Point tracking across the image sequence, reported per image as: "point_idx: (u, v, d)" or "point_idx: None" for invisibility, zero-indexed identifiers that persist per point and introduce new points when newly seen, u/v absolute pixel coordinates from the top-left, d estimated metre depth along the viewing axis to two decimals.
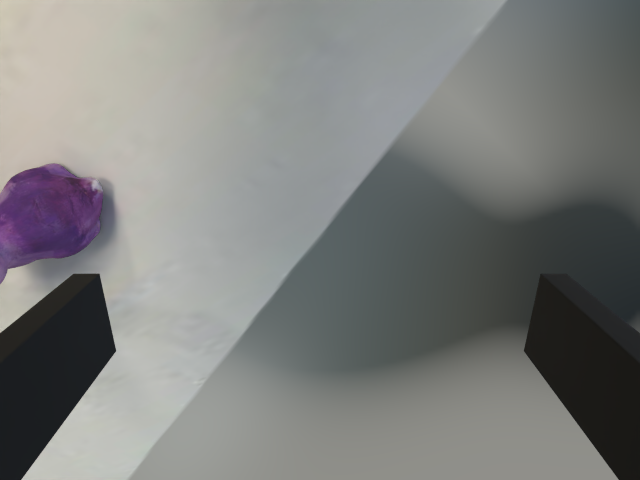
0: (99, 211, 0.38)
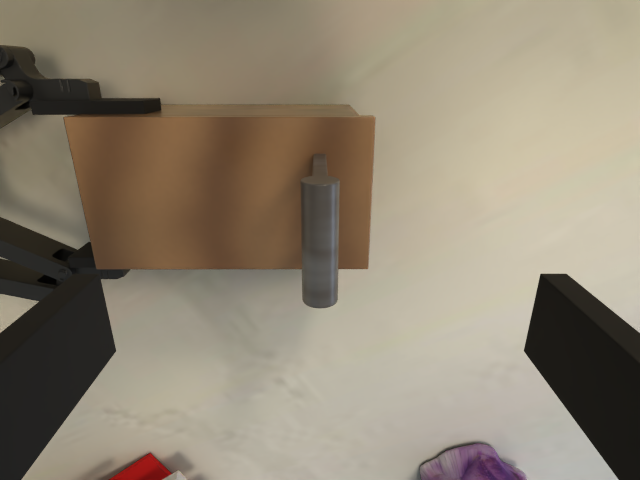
0: None
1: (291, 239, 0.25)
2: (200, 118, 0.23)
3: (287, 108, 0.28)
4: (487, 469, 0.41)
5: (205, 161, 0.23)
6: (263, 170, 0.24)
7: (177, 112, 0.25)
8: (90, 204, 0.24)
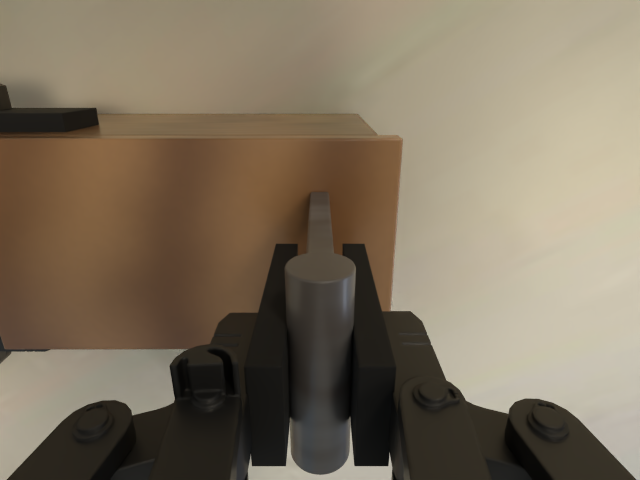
0: None
1: None
2: (140, 140, 0.15)
3: (275, 121, 0.21)
4: None
5: (150, 202, 0.16)
6: (237, 215, 0.16)
7: (116, 128, 0.18)
8: None
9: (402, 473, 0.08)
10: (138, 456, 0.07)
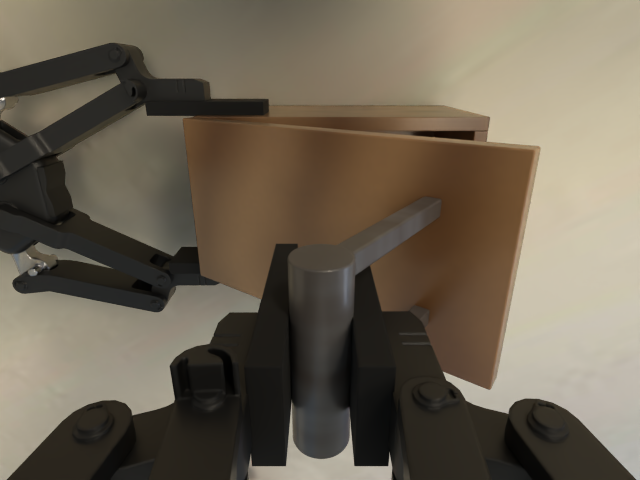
0: None
1: (382, 307, 0.18)
2: (292, 130, 0.18)
3: (393, 109, 0.27)
4: None
5: (294, 183, 0.19)
6: (356, 207, 0.17)
7: (291, 113, 0.24)
8: (198, 210, 0.23)
9: (402, 473, 0.08)
10: (138, 456, 0.07)
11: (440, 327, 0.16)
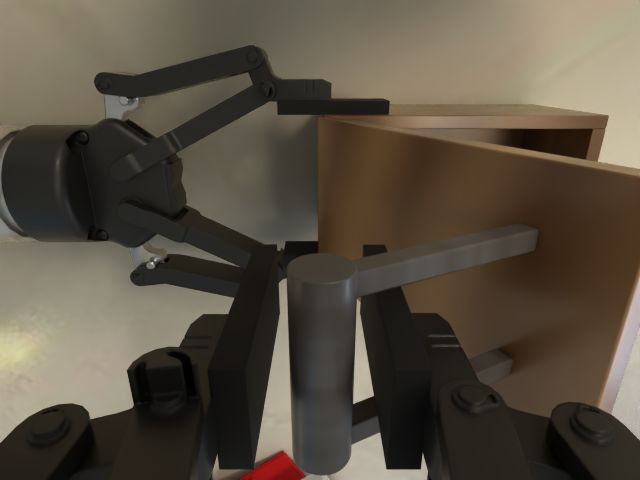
0: None
1: (464, 342, 0.16)
2: (399, 134, 0.17)
3: (496, 108, 0.28)
4: None
5: (396, 189, 0.18)
6: (449, 224, 0.15)
7: (410, 112, 0.25)
8: (321, 204, 0.24)
9: (439, 475, 0.08)
10: (94, 460, 0.07)
11: (523, 383, 0.13)
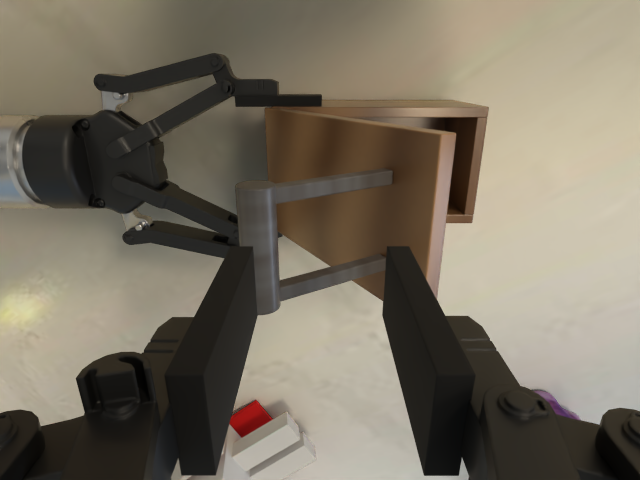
0: None
1: (363, 255, 0.23)
2: (317, 117, 0.24)
3: (414, 102, 0.36)
4: None
5: (318, 156, 0.25)
6: None
7: (341, 105, 0.33)
8: (270, 176, 0.32)
9: None
10: (42, 468, 0.07)
11: None
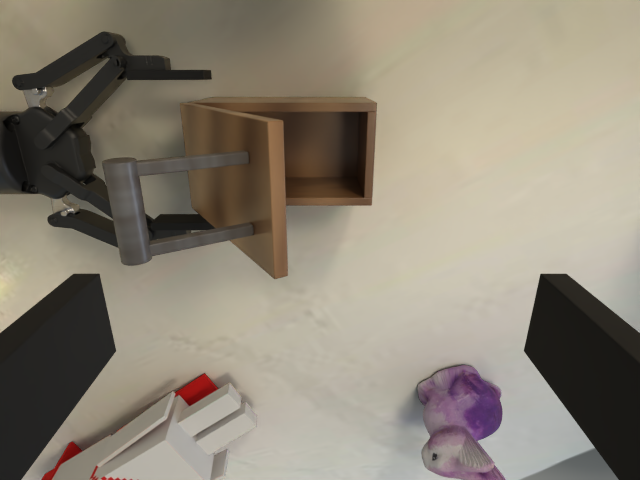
0: None
1: None
2: (207, 110, 0.29)
3: (324, 99, 0.40)
4: (469, 380, 0.53)
5: (211, 143, 0.30)
6: None
7: (252, 101, 0.37)
8: None
9: None
10: None
11: (257, 237, 0.26)
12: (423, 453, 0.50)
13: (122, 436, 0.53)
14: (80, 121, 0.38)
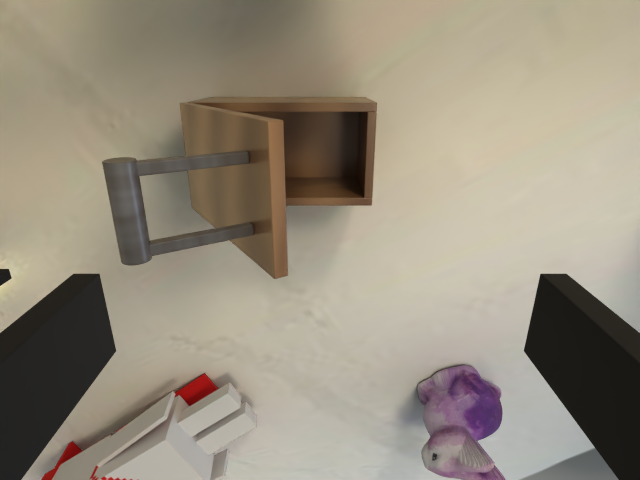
0: None
1: None
2: (207, 110, 0.29)
3: (324, 99, 0.40)
4: (469, 380, 0.53)
5: (211, 143, 0.30)
6: None
7: (252, 101, 0.37)
8: None
9: None
10: None
11: (257, 237, 0.26)
12: (423, 453, 0.50)
13: (122, 436, 0.53)
14: None
